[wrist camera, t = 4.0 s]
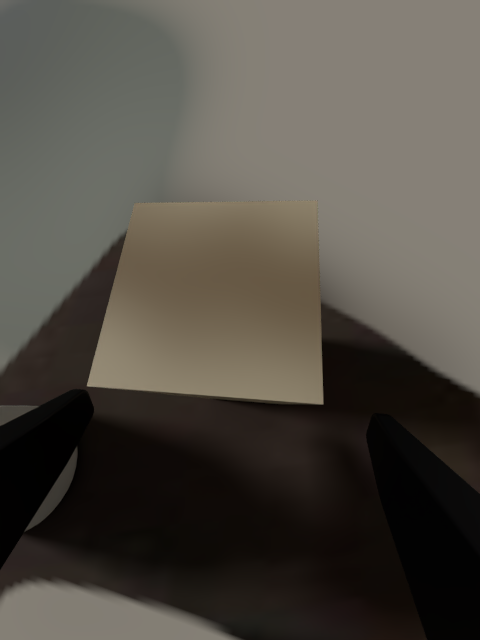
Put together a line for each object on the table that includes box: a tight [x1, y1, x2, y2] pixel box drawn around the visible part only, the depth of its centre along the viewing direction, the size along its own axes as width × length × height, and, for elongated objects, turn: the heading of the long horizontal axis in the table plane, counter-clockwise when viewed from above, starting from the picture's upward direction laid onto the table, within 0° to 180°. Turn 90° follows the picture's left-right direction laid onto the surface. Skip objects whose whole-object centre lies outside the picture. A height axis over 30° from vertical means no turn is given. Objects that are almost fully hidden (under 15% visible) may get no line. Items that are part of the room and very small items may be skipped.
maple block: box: [87, 201, 323, 405], centre depth 12 cm, size 5×5×13 cm
